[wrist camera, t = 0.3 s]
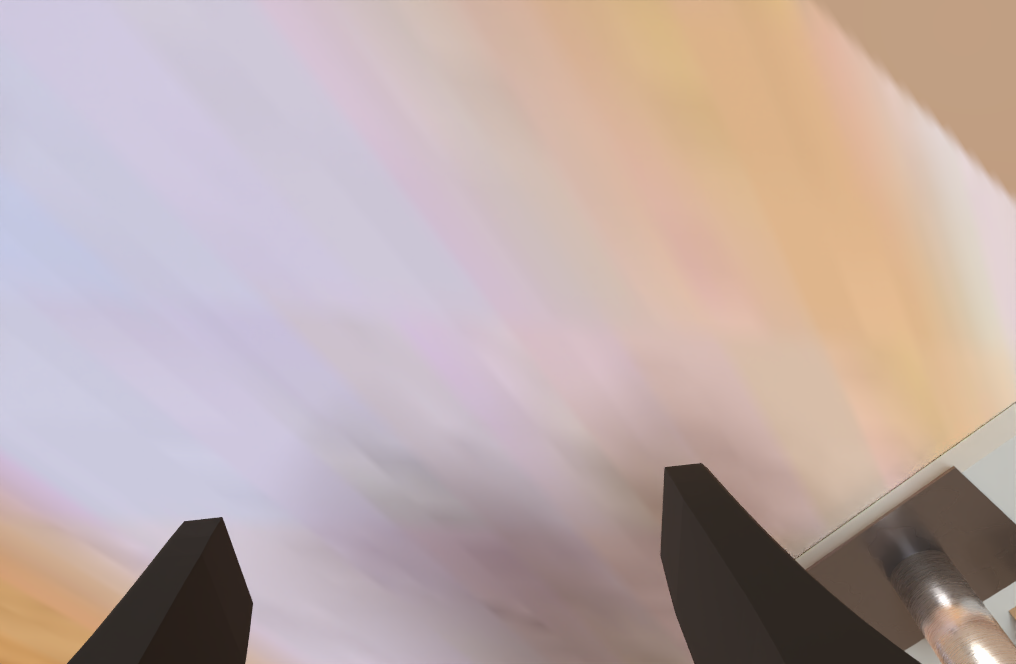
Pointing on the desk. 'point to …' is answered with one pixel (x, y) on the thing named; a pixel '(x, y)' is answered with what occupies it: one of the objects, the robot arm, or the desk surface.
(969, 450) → the board
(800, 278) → the desk surface
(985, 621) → the post
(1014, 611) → the collar
